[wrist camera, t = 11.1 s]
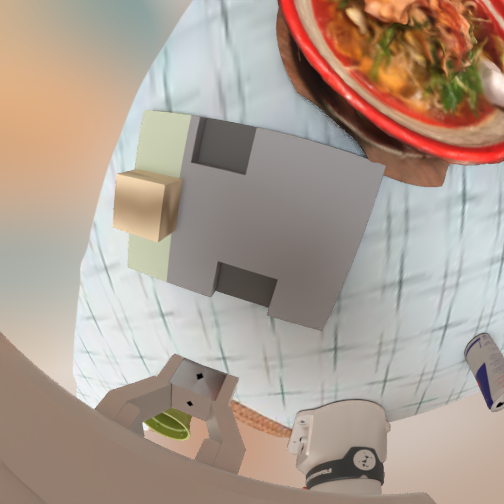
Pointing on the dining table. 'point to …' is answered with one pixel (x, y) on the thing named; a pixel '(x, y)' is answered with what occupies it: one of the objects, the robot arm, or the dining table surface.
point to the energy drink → (487, 369)
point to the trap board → (256, 214)
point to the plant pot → (171, 424)
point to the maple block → (146, 204)
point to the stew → (403, 78)
